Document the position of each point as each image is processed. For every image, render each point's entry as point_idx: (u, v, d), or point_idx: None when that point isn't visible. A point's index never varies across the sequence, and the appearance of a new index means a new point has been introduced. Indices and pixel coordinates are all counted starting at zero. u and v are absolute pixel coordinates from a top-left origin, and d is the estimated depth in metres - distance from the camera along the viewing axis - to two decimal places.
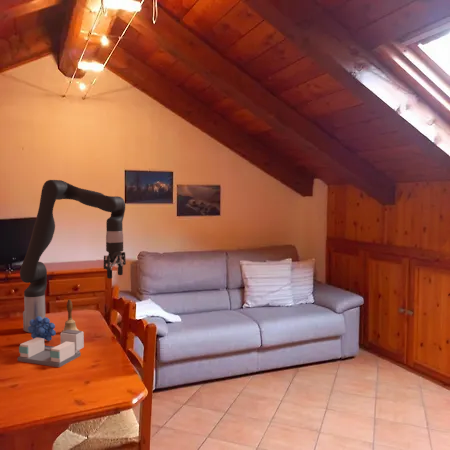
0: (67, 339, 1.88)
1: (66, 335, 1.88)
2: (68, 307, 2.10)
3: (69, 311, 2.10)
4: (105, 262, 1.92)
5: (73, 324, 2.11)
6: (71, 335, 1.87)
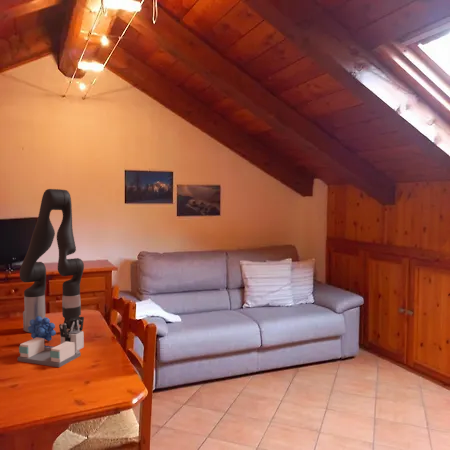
0: None
1: None
2: None
3: None
4: (61, 331, 1.84)
5: None
6: (71, 335, 1.87)
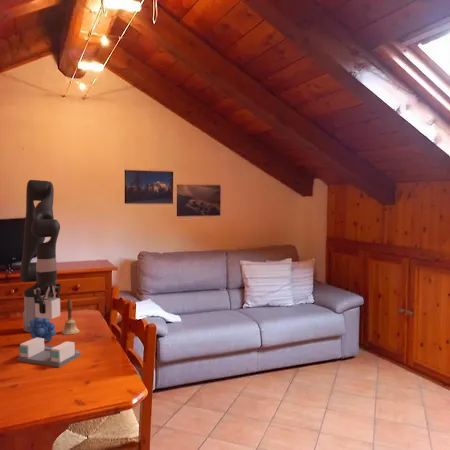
0: None
1: None
2: (68, 307, 2.10)
3: (69, 311, 2.10)
4: (35, 297, 1.70)
5: (73, 324, 2.11)
6: (46, 301, 1.73)
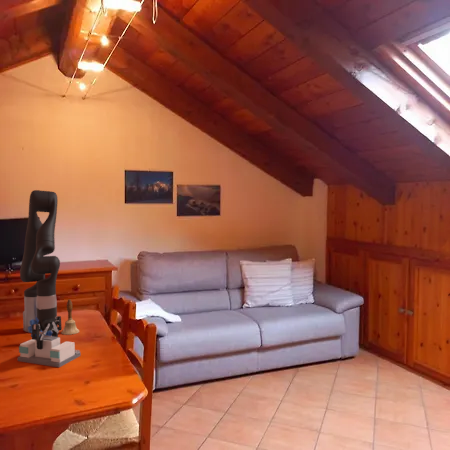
0: None
1: None
2: (68, 307, 2.10)
3: (69, 311, 2.10)
4: (33, 332, 1.70)
5: (73, 324, 2.11)
6: (46, 341, 1.74)
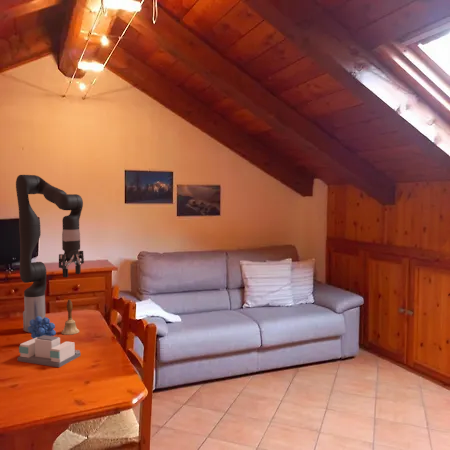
0: (42, 346, 1.75)
1: (41, 341, 1.75)
2: (68, 307, 2.10)
3: (69, 311, 2.10)
4: (60, 261, 1.89)
5: (73, 324, 2.11)
6: (46, 341, 1.74)
